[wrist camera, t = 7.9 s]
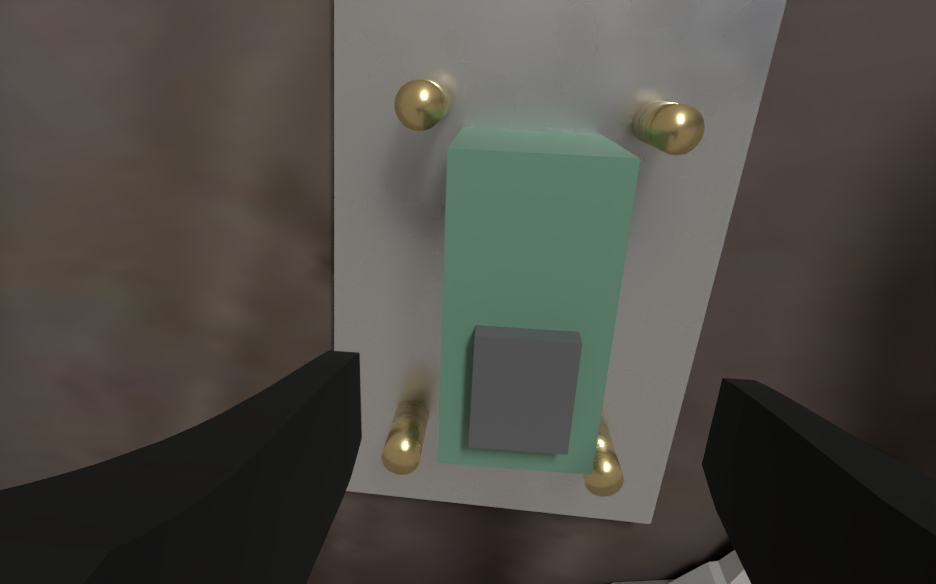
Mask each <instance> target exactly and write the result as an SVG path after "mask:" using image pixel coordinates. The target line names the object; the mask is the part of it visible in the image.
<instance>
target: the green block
mask: <svg viewBox="0 0 936 584" xmlns="http://www.w3.org/2000/svg"><path fill="white" fill-rule="evenodd" d="M640 160H641V159H640V158H639V157H637V156H636V155H634V154H632V153H631V152H629V151H627V150H626V149H624V148H623V147H621V146H619V145H618V144H616V143H614V142H613V141H611V140H610V139H608V138H606V137H605V136H603V135H601V134H585V133H566V132H547V131H528V130H510V129H491V128H472V127H463V128H462V129H461V130H460V132H459V133H458V134H457V136H456V137H455V138H454V140H453V141H452V143H451V144H450V145H449V147H448V148H447V176H446V207H445V238H444V270H443V301H442V332H441V363H440V395H439V426H438V457H437V463H442V464H456V465H469V466H482V467H496V468H509V469H523V470H536V471H550V472H563V473H576V474H590V475H592V472H593V465H594V459H595V452H596V446H597V439H598V433H599V426H600V420H601V413H602V407H603V400H604V394H605V387H606V381H607V374H608V368H609V361H610V355H611V348H612V342H613V335H614V329H615V322H616V316H617V309H618V303H619V296H620V290H621V283H622V277H623V270H624V264H625V257H626V251H627V244H628V238H629V231H630V225H631V218H632V212H633V205H634V199H635V192H636V186H637V179H638V173H639V166H640Z"/></svg>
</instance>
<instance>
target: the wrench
mask: <svg viewBox="0 0 936 584" xmlns="http://www.w3.org/2000/svg"><path fill="white" fill-rule="evenodd" d="M611 584H751V582H750V580H749V578H748V576H747V574H746V572H745V570H744V568H743V566H742V564H741V562H740V560H739V558H738V555H737V553H736V551H735V550H734V551H732V552H731V553H729V554H728V555H726V556H725V557H723V558H722V559H720V560H718V561H709V562H707V563H705V564H703V565H701V566H700V567H698V568H696V569H694V570H692V571H690V572H688V573H686V574H685V575H683V576H681V577H679V578H677V579H672V580H651V581H630V582H613V583H611Z"/></svg>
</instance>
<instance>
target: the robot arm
mask: <svg viewBox="0 0 936 584" xmlns="http://www.w3.org/2000/svg"><path fill="white" fill-rule="evenodd" d="M361 439H362V423H361V386H360V353H358V352H344V351H328V352H326V353H324V354H322V355H320V356H319V357H317V358H315V359H314V360H312V361H310V362H309V363H307V364H305V365H304V366H302V367H301V368H299V369H297V370H296V371H294V372H293V373H291V374H289V375H288V376H286V377H284V378H283V379H281V380H280V381H278V382H276V383H275V384H273V385H271V386H270V387H268V388H267V389H265V390H263V391H261V392H260V393H258V394H256V395H254V396H252V397H251V398H249V399H247V400H245V401H243V402H241V403H240V404H238V405H236V406H234V407H232V408H231V409H229V410H227V411H225V412H223V413H221V414H219V415H217V416H215V417H213V418H211V419H209V420H207V421H205V422H203V423H201V424H199V425H197V426H195V427H192V428H190V429H188V430H185V431H183V432H181V433H178V434H176V435H174V436H172V437H169V438H167V439H164V440H162V441H159V442H157V443H154V444H151V445H149V446H146V447H143V448H140V449H137V450H135V451H132V452H129V453H126V454H124V455H121V456H118V457H115V458H112V459H110V460H107V461H104V462H101V463H98V464H95V465H92V466H88V467H85V468H82V469H78V470H75V471H72V472H68V473H65V474H61V475H58V476H54V477H50V478H47V479H43V480H39V481H36V482H32V483H28V484H24V485H20V486H16V487H12V488H8V489H4V490H0V584H306V582H307V580H308V577H309V575H310V573H311V570H312V568H313V566H314V563H315V561H316V559H317V556H318V554H319V552H320V550H321V547H322V545H323V543H324V540H325V538H326V536H327V533H328V531H329V529H330V527H331V524H332V522H333V520H334V517H335V515H336V513H337V510H338V508H339V506H340V503H341V501H342V499H343V496H344V494H345V492H346V489H347V487H348V484H349V482H350V479H351V476H352V472H353V469H354V465H355V462H356V458H357V454H358V451H359V447H360V443H361ZM702 466H703V469H704V473H705V476H706V480H707V483H708V486H709V490H710V493H711V496H712V499H713V502H714V505H715V508H716V511H717V513H718V515H719V517H720V519H721V522H722V524H723V526H724V528H725V530H726V532H727V534H728V537H729V539H730V541H731V543H732V545H733V547H734V549H735V551H736V553H737V555H738V558H739V560H740V562H741V564H742V566H743V568H744V570H745V572H746V574H747V576H748V578H749V580H750V582H751V584H936V480H935V479H933V478H931V477H929V476H927V475H925V474H923V473H921V472H919V471H917V470H915V469H913V468H911V467H909V466H907V465H905V464H904V463H902V462H900V461H898V460H896V459H894V458H892V457H890V456H889V455H887V454H885V453H883V452H881V451H879V450H877V449H876V448H874V447H872V446H870V445H868V444H867V443H865V442H863V441H861V440H860V439H858V438H856V437H854V436H853V435H851V434H849V433H847V432H846V431H844V430H842V429H841V428H839V427H837V426H835V425H834V424H832V423H830V422H829V421H827V420H825V419H824V418H822V417H820V416H819V415H817V414H815V413H813V412H812V411H810V410H808V409H807V408H805V407H803V406H802V405H800V404H798V403H797V402H795V401H793V400H791V399H790V398H788V397H786V396H784V395H783V394H781V393H779V392H777V391H775V390H774V389H772V388H770V387H768V386H766V385H764V384H762V383H759V382H757V381H755V380H742V379H728V378H722V383H721V387H720V391H719V395H718V399H717V403H716V408H715V412H714V416H713V420H712V424H711V428H710V433H709V437H708V441H707V445H706V449H705V454H704V458H703V462H702Z"/></svg>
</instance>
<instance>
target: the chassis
mask: <svg viewBox="0 0 936 584" xmlns="http://www.w3.org/2000/svg"><path fill="white" fill-rule="evenodd" d="M786 1H787V0H334V351H344V352H358V353H360V386H361V423H362V439H361V443H360V447H359V451H358V454H357V458H356V462H355V465H354V469H353V472H352V476H351V479H350V482H349V484H348V487H347V489H346V491H351V492H360V493H370V494H379V495H388V496H397V497H406V498H416V499H425V500H434V501H443V502H452V503H461V504H471V505H480V506H489V507H498V508H507V509H517V510H526V511H535V512H544V513H553V514H563V515H572V516H581V517H590V518H599V519H609V520H618V521H627V522H636V523H645V524H651V521H652V517H653V513H654V509H655V505H656V501H657V498H658V494H659V490H660V486H661V482H662V478H663V475H664V471H665V467H666V463H667V459H668V455H669V451H670V448H671V444H672V440H673V436H674V432H675V428H676V424H677V421H678V417H679V413H680V409H681V405H682V401H683V398H684V394H685V390H686V386H687V382H688V378H689V374H690V371H691V367H692V363H693V359H694V355H695V351H696V347H697V344H698V340H699V336H700V332H701V328H702V324H703V321H704V317H705V313H706V309H707V305H708V301H709V297H710V294H711V290H712V286H713V282H714V278H715V274H716V270H717V267H718V263H719V259H720V255H721V251H722V247H723V244H724V240H725V236H726V232H727V228H728V224H729V220H730V217H731V213H732V209H733V205H734V201H735V197H736V193H737V190H738V186H739V182H740V178H741V174H742V170H743V167H744V163H745V159H746V155H747V151H748V147H749V143H750V140H751V136H752V132H753V128H754V124H755V120H756V116H757V113H758V109H759V105H760V101H761V97H762V93H763V90H764V86H765V82H766V78H767V74H768V70H769V66H770V63H771V59H772V55H773V51H774V47H775V43H776V39H777V36H778V32H779V28H780V24H781V20H782V16H783V13H784V9H785V5H786ZM463 127H472V128H491V129H510V130H528V131H547V132H566V133H585V134H601V135H603V136H605V137H606V138H608V139H610V140H611V141H613V142H614V143H616V144H618V145H619V146H621V147H623V148H624V149H626V150H627V151H629V152H631V153H632V154H634V155H636V156H637V157H639V158H640V159H641V160H640V166H639V173H638V179H637V186H636V192H635V199H634V205H633V212H632V218H631V225H630V231H629V238H628V244H627V251H626V257H625V264H624V270H623V277H622V283H621V290H620V296H619V303H618V309H617V316H616V322H615V329H614V335H613V342H612V348H611V355H610V361H609V368H608V374H607V381H606V387H605V394H604V400H603V407H602V413H601V420H600V426H599V433H598V439H597V446H596V452H595V459H594V465H593V472H592V475H590V474H576V473H563V472H550V471H536V470H523V469H509V468H496V467H482V466H469V465H456V464H442V463H437V457H438V426H439V395H440V363H441V332H442V301H443V270H444V238H445V207H446V176H447V148H448V147H449V145H450V144H451V143H452V141H453V140H454V138H455V137H456V136H457V134H458V133H459V132H460V130H461V129H462V128H463Z"/></svg>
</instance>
